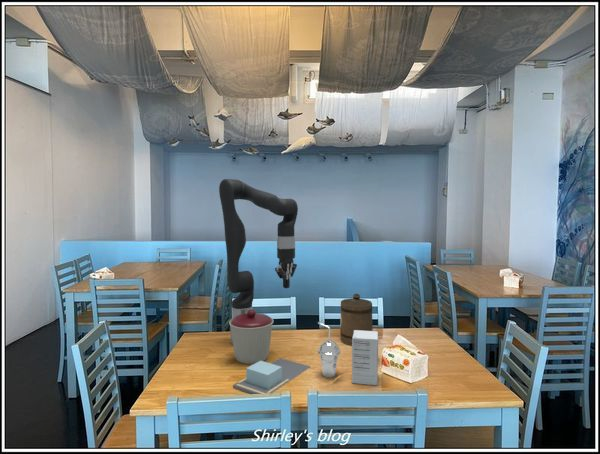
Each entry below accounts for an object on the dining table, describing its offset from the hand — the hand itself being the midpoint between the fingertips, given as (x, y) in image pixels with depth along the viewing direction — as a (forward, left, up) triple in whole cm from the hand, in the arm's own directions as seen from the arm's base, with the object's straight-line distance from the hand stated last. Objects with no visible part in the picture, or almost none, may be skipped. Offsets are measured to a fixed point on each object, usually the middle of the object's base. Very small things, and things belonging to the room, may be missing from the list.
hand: (286, 287), depth 167 cm
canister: (-9, -12, -29) cm, 33 cm away
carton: (+8, -26, -28) cm, 39 cm away
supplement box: (+37, -2, -29) cm, 47 cm away
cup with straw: (+25, -8, -29) cm, 39 cm away
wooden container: (+17, +32, -29) cm, 47 cm away
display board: (+8, -20, -29) cm, 36 cm away
